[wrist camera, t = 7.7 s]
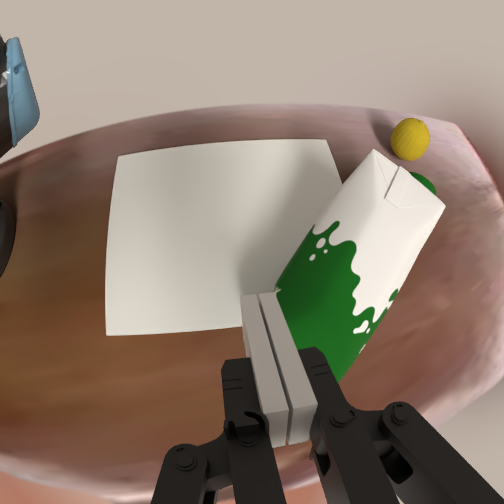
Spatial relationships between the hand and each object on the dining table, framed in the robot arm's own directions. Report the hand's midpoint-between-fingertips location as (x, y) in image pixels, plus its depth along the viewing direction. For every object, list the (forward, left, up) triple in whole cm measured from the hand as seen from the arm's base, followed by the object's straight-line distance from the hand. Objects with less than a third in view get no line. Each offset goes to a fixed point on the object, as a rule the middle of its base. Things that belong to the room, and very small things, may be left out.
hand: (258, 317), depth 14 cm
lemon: (-21, +26, -13) cm, 36 cm away
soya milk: (+3, +3, -10) cm, 11 cm away
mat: (-12, 0, -13) cm, 18 cm away
